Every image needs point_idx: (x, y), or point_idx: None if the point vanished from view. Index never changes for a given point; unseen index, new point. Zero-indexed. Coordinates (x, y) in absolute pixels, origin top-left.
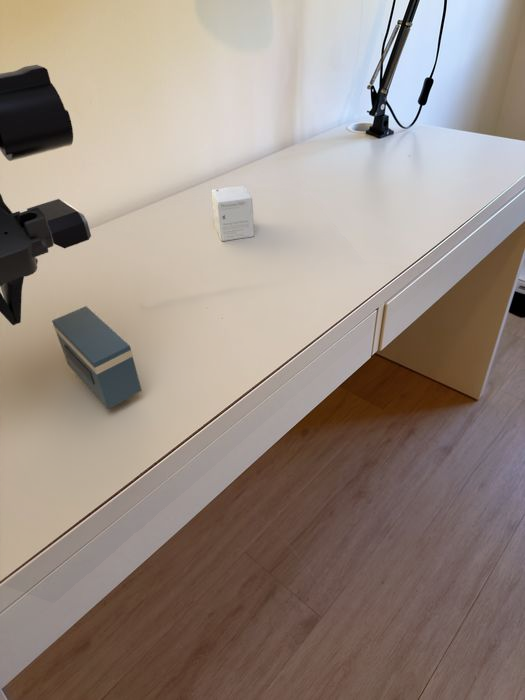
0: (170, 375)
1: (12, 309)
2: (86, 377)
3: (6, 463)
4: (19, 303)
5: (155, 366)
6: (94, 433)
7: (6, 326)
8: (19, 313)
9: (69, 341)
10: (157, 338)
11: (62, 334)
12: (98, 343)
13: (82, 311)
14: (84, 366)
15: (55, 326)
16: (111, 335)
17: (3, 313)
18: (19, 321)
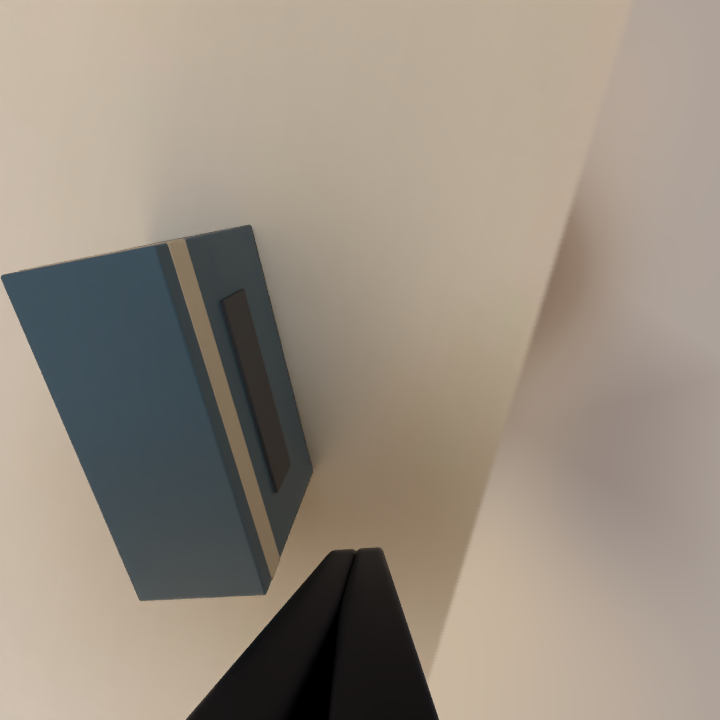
0: None
1: (322, 641)
2: (263, 351)
3: (579, 167)
4: (244, 668)
5: None
6: (311, 142)
7: None
8: (300, 596)
9: (233, 459)
10: None
11: (251, 512)
12: (119, 364)
13: (155, 580)
14: (234, 346)
15: (265, 565)
16: (66, 384)
17: (400, 637)
18: (334, 554)
